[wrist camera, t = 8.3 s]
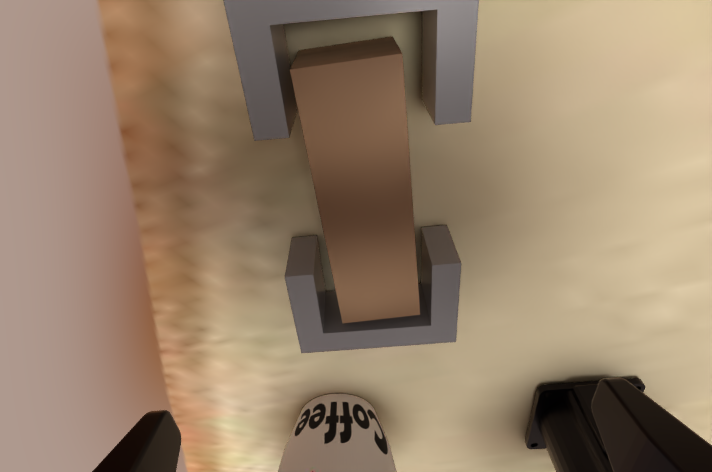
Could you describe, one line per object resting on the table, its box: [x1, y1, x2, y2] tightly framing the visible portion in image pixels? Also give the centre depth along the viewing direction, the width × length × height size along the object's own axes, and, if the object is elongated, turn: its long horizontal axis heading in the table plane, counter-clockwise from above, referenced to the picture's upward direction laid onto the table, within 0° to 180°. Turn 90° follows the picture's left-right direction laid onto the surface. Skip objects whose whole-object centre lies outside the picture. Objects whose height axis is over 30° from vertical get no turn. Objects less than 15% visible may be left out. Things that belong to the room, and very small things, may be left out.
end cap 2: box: [285, 225, 461, 353], centre depth 20 cm, size 5×7×3 cm, turn 95°
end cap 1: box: [223, 0, 479, 141], centre depth 15 cm, size 5×7×3 cm, turn 95°
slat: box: [290, 37, 420, 323], centre depth 18 cm, size 11×4×4 cm, turn 8°
